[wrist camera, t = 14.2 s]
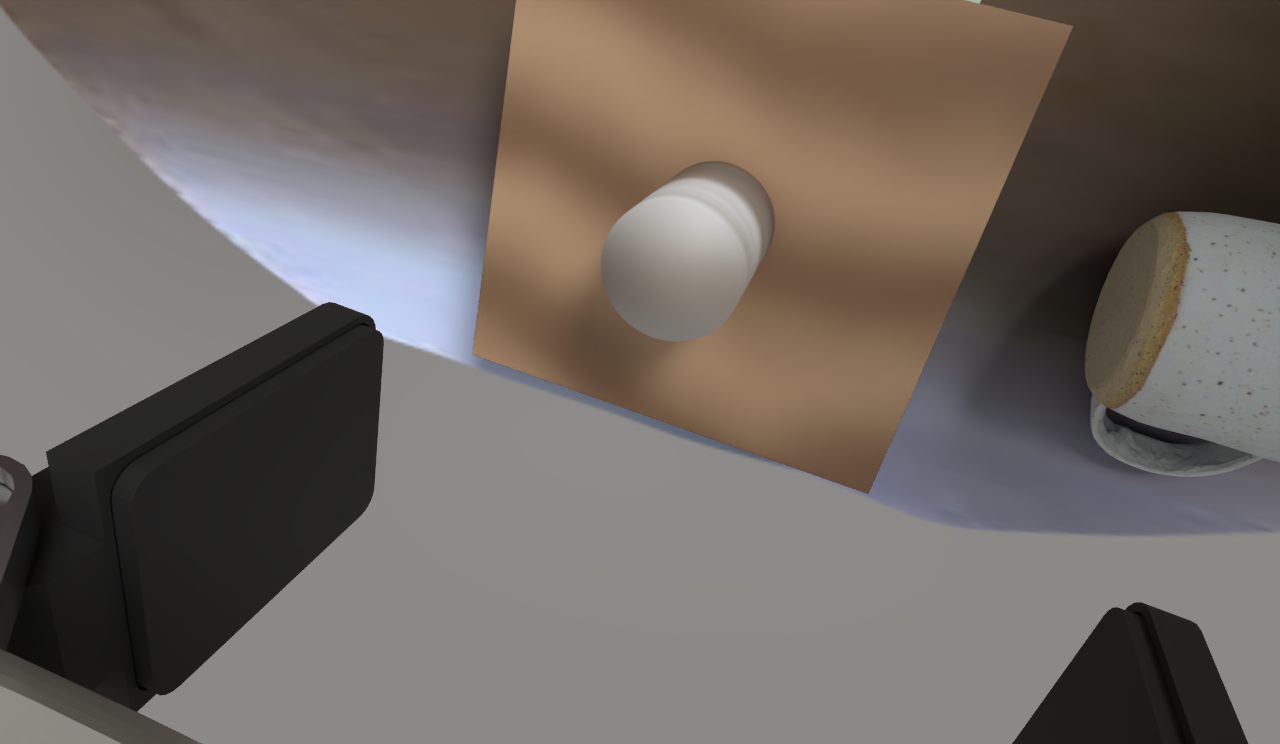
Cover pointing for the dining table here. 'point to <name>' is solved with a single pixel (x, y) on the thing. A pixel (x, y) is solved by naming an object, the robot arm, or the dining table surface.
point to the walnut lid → (751, 206)
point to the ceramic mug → (1190, 344)
